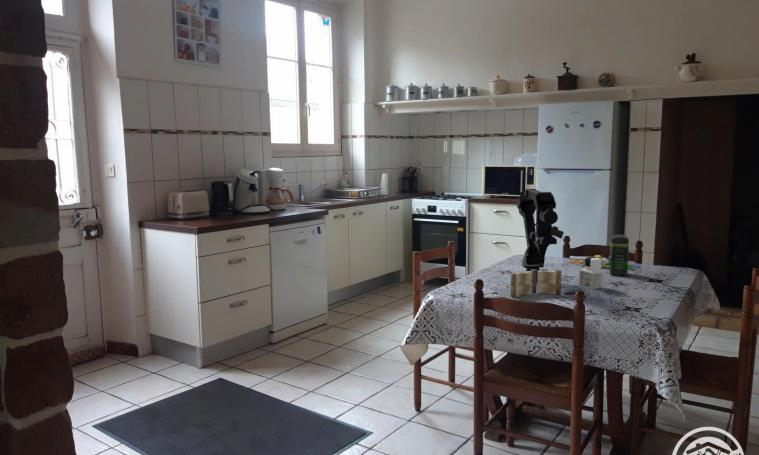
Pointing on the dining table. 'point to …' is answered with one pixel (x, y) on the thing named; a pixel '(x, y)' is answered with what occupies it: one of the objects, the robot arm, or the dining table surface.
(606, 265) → the shape sorter
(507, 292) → the card
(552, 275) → the fixed fence section
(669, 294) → the dining table surface
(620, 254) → the coffee jar
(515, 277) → the hinged fence panel
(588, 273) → the container
